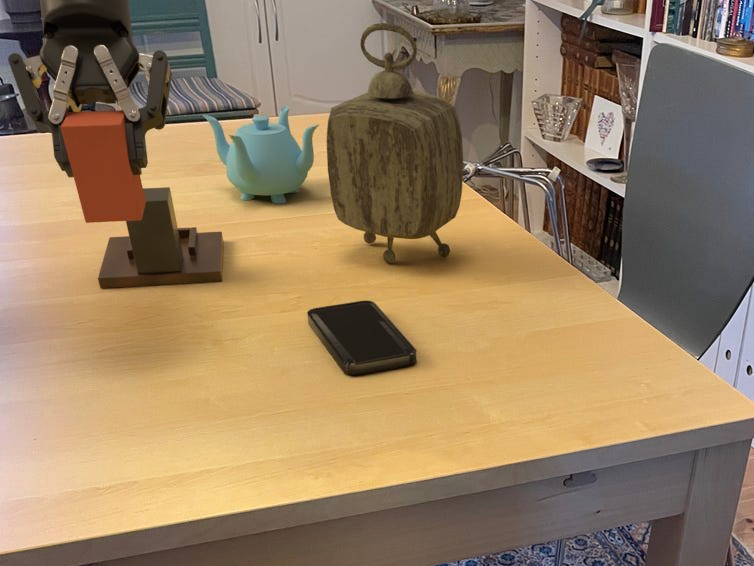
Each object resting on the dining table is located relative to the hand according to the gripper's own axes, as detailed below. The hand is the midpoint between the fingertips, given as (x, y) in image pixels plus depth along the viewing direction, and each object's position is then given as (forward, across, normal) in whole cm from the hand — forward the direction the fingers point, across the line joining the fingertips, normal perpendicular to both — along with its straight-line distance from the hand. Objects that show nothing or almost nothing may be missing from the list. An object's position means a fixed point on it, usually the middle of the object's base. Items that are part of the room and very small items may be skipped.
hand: (103, 170), depth 84 cm
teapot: (-25, +13, +50) cm, 58 cm away
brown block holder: (-7, 0, +32) cm, 33 cm away
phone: (+12, +22, +14) cm, 28 cm away
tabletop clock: (-5, +28, +31) cm, 42 cm away
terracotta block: (+2, 0, +4) cm, 5 cm away
